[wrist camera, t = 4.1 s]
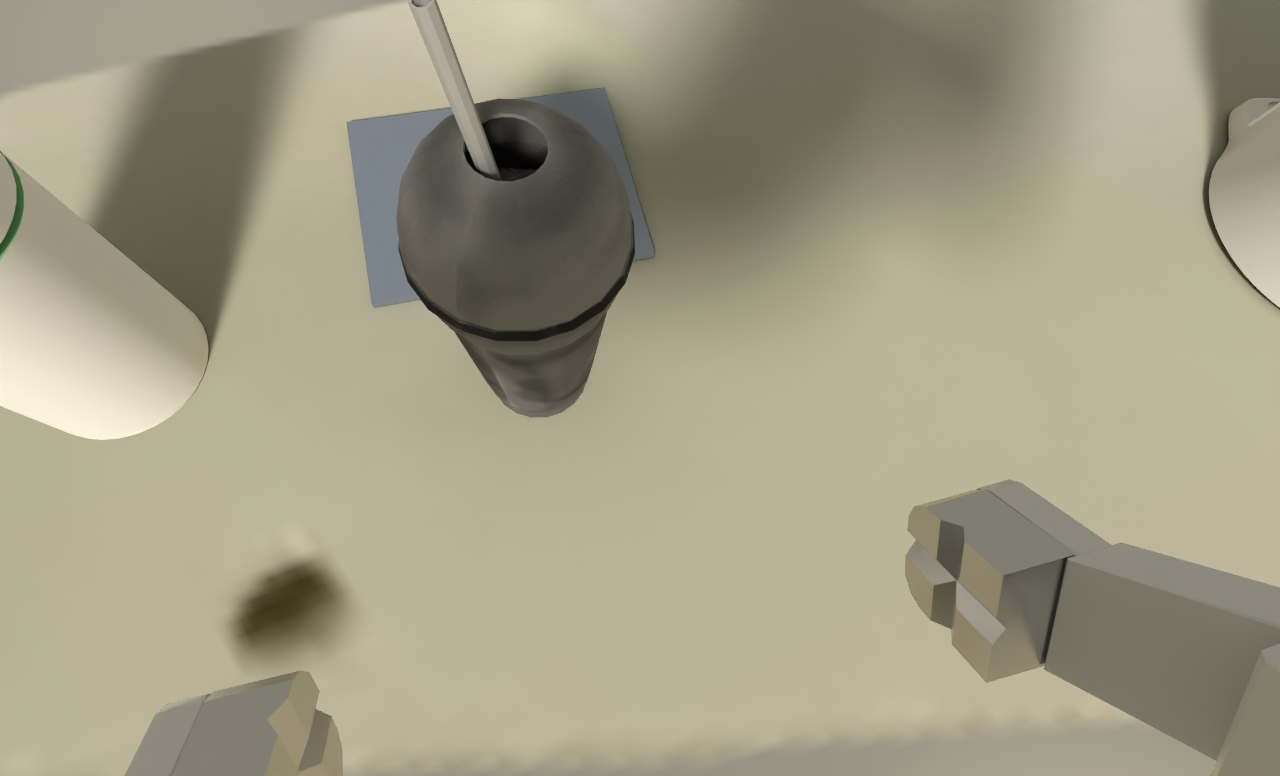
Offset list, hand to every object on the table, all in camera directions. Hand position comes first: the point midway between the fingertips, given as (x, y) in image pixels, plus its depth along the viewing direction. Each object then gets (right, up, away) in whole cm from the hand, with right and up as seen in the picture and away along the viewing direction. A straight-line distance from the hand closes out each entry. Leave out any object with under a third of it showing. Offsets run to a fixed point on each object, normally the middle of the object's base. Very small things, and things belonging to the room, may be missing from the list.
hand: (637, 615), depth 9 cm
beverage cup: (-5, +4, +23) cm, 23 cm away
